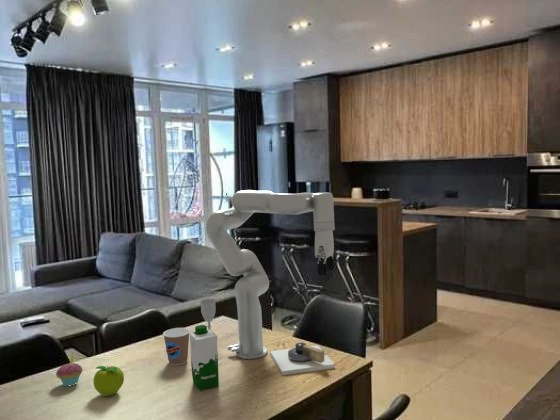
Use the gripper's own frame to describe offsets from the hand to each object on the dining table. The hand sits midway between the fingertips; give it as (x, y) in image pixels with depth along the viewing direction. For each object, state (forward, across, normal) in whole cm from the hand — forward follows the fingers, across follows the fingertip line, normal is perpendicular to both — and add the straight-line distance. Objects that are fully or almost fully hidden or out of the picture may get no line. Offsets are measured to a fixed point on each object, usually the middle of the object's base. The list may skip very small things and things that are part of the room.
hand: (326, 271), depth 175 cm
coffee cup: (+34, +14, -58) cm, 69 cm away
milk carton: (+35, +29, -37) cm, 58 cm away
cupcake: (+34, +43, -84) cm, 101 cm away
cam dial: (+33, +2, -9) cm, 35 cm away
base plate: (+35, +1, -11) cm, 37 cm away
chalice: (+34, -9, -57) cm, 67 cm away
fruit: (+34, +45, -65) cm, 86 cm away
